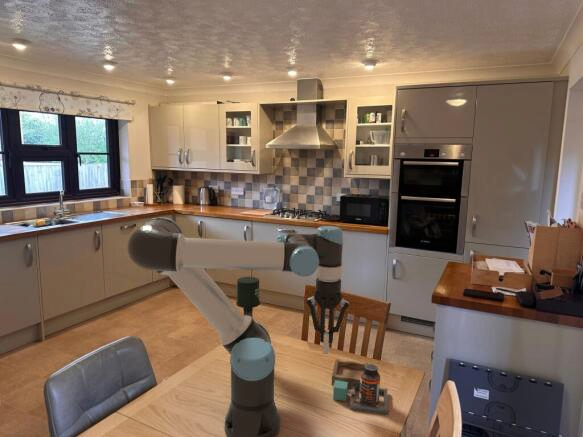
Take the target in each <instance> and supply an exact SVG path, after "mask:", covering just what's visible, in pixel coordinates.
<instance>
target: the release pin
mask: <svg viewBox="0 0 583 437" xmlns="http://www.w3.org/2000/svg"><path fill="white" fill-rule="evenodd" d="M351 394H354V395H356V391H355V390H352V389H348V382H344V381H337V380H335V383H334V385H333V393H332V395H333V396H332V400H336V401H344V402H347V397H348V395H351Z"/></svg>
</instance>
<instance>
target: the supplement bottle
mask: <svg viewBox="0 0 583 437" xmlns="http://www.w3.org/2000/svg"><path fill="white" fill-rule="evenodd" d="M378 369H379V368H378V366H377V365H376V364H374V363H373V364H372V363H368V364H366V365H365V367H364V371H362V373H361V378H360V391H359V394H358V395H359V401H360V404H364V405H371V406H377V405H378V403H379V401H380V394H379V390H380V388H381V374H380V373H379V372H378Z"/></svg>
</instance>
